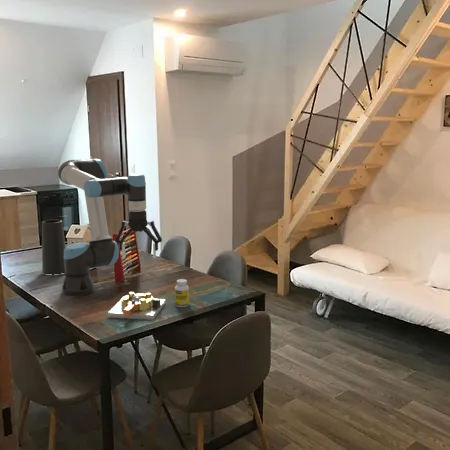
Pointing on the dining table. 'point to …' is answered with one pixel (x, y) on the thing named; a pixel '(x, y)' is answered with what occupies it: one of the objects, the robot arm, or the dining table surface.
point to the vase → (53, 247)
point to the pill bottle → (181, 293)
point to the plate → (140, 314)
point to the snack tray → (136, 303)
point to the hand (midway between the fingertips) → (139, 257)
